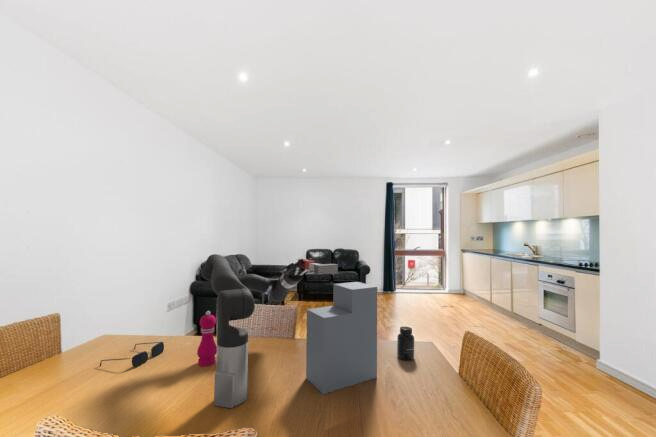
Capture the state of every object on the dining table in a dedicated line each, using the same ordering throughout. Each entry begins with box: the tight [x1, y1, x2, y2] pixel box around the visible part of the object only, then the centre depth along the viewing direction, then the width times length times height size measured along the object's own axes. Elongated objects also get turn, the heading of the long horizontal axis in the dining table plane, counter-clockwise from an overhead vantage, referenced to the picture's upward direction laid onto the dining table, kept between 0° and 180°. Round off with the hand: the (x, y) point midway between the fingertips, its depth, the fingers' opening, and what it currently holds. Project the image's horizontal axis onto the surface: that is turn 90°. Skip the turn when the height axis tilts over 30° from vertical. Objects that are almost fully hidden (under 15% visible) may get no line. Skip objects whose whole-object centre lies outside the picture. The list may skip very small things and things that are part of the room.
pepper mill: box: [196, 310, 217, 367], centre depth 119 cm, size 7×7×20 cm
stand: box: [305, 281, 378, 395], centre depth 108 cm, size 12×22×32 cm, turn 121°
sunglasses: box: [99, 341, 165, 368], centre depth 122 cm, size 17×15×5 cm
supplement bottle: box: [396, 326, 415, 361], centre depth 126 cm, size 7×7×12 cm
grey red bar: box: [297, 258, 339, 275], centre depth 116 cm, size 22×8×3 cm, turn 31°
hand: (306, 260), depth 121 cm, fingers closed on grey red bar, 3 cm apart
